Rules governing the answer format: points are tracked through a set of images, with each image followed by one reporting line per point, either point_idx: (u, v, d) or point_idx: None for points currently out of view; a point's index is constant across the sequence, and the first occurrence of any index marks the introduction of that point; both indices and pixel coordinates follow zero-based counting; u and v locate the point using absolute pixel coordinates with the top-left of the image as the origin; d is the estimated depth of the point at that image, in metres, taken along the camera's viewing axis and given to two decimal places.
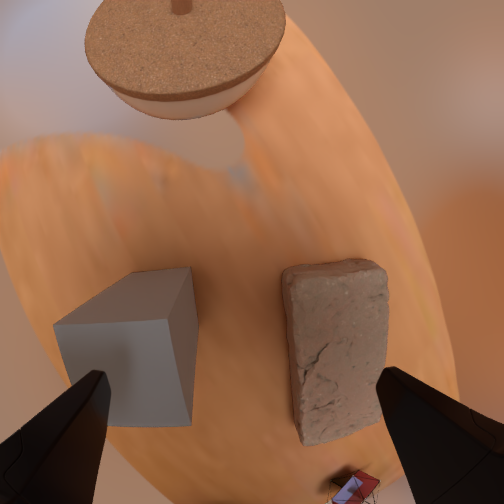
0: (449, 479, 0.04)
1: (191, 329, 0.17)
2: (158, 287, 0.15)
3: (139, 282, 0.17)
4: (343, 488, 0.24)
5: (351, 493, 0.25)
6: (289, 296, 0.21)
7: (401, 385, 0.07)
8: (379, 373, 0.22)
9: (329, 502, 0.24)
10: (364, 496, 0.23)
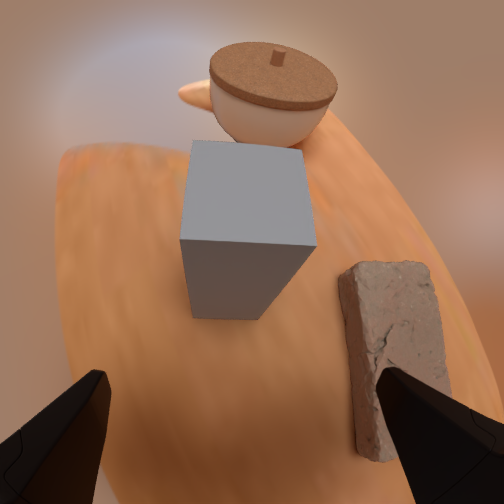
0: (449, 479, 0.04)
1: None
2: None
3: None
4: None
5: None
6: (352, 280, 0.22)
7: (401, 385, 0.07)
8: (443, 366, 0.19)
9: None
10: None
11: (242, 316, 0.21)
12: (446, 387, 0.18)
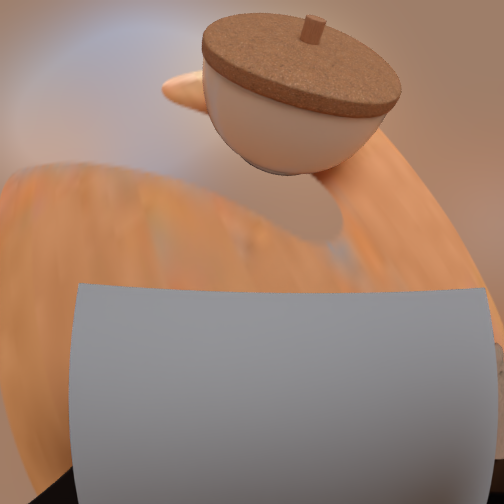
0: None
1: None
2: None
3: None
4: None
5: None
6: None
7: None
8: None
9: None
10: None
11: None
12: None
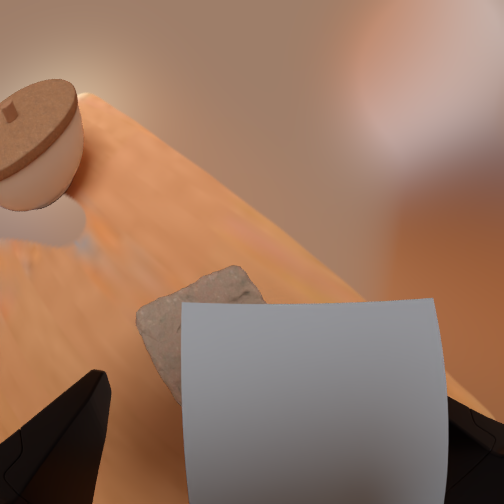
0: (449, 479, 0.04)
1: None
2: None
3: None
4: None
5: None
6: None
7: None
8: None
9: None
10: None
11: None
12: None
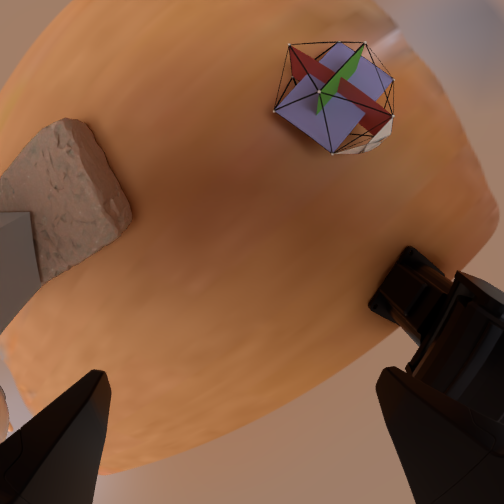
0: (449, 479, 0.04)
1: None
2: None
3: None
4: (306, 127, 0.15)
5: (332, 97, 0.14)
6: None
7: (401, 385, 0.07)
8: (2, 184, 0.13)
9: (344, 152, 0.15)
10: (331, 73, 0.13)
11: (23, 238, 0.13)
12: (15, 168, 0.12)
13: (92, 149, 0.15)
